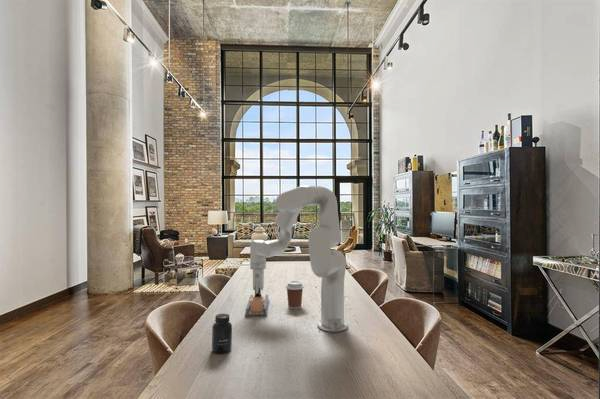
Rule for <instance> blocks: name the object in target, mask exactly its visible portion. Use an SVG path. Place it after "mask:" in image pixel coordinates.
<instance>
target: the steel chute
mask: <svg viewBox="0 0 600 399" xmlns="http://www.w3.org/2000/svg"><path fill="white" fill-rule="evenodd" d="M251 297H254V294H250V297H249V298H248V302H247V304H246V308H245V313H244V317H268V311H269V306H270V298H269V294H265V297H264V307H263V312H250V299H251Z"/></svg>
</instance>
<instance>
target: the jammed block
mask: <svg viewBox="0 0 600 399" xmlns="http://www.w3.org/2000/svg"><path fill="white" fill-rule="evenodd" d="M249 299H250V298H249ZM264 300H265V297H264V296H261V297H255V296H253V297H251V299H250V312H263V307H264Z"/></svg>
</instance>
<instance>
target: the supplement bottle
mask: <svg viewBox="0 0 600 399" xmlns="http://www.w3.org/2000/svg"><path fill="white" fill-rule="evenodd" d="M214 322H215V323H213V324H212V326H211V327H212V328H211V352H212V353H214V354H217V355H218V354H219V355H223V354H227V353H229V352H230V351H231V350H232V346H233V345H232V343H233V342H232V341H233V324H232V323H231V322H230V314H229V313H228V314H227V313H218V314H216V315H215V320H214Z"/></svg>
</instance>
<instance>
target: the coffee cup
mask: <svg viewBox="0 0 600 399" xmlns="http://www.w3.org/2000/svg"><path fill="white" fill-rule="evenodd" d="M304 288H305V285H304V284H303V282H302V281H301V280H300V281H299V280H290V281H288V282H287V284H286V285H285V289H286V296H287V307H288V308H289V309H292V310H298V309H301V308H302V302H303V290H304Z"/></svg>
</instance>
